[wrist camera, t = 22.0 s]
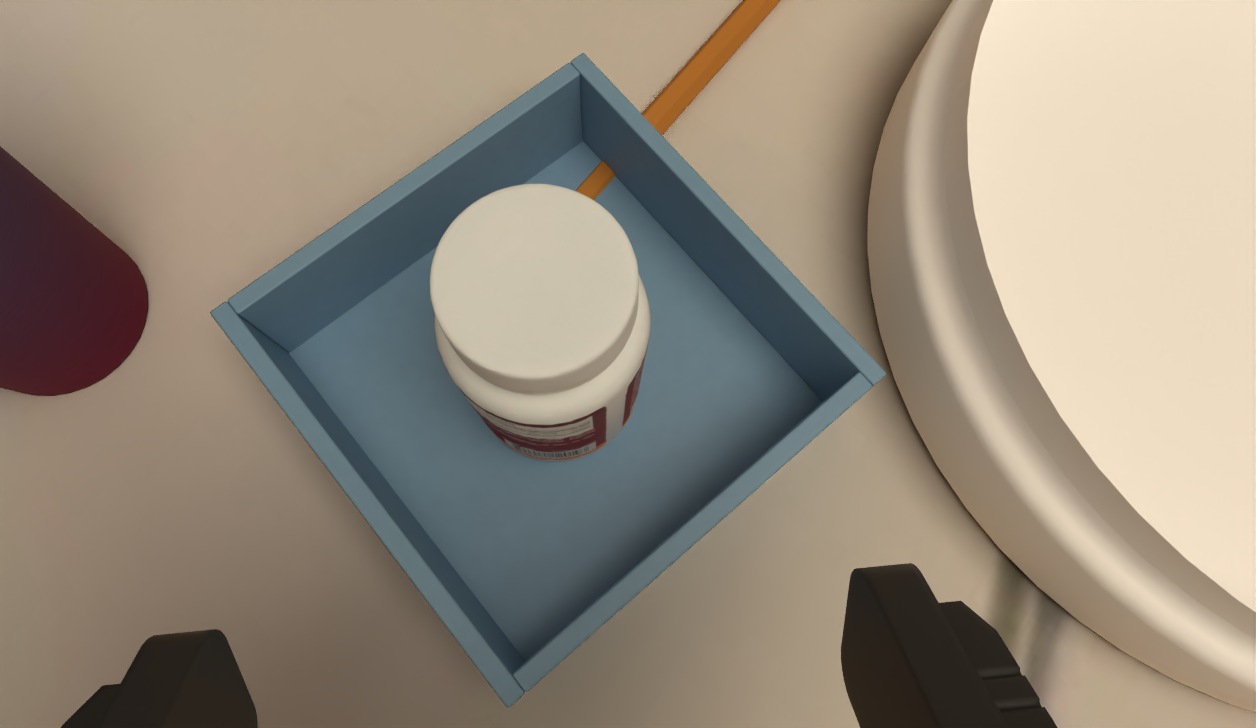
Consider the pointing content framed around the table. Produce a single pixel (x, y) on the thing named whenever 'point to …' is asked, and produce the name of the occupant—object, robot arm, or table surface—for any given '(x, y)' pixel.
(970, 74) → the white round tray
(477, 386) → the pill bottle
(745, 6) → the pencil
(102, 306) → the cup
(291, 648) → the table surface
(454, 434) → the open blue box
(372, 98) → the table surface
